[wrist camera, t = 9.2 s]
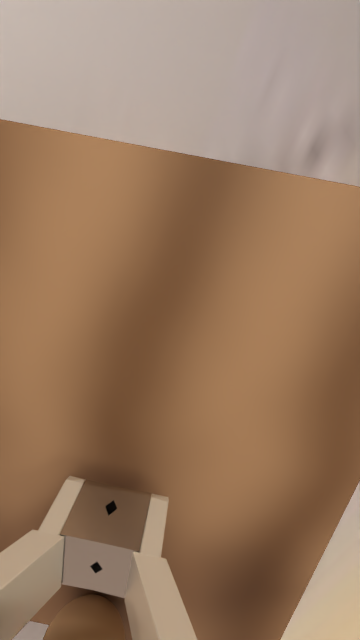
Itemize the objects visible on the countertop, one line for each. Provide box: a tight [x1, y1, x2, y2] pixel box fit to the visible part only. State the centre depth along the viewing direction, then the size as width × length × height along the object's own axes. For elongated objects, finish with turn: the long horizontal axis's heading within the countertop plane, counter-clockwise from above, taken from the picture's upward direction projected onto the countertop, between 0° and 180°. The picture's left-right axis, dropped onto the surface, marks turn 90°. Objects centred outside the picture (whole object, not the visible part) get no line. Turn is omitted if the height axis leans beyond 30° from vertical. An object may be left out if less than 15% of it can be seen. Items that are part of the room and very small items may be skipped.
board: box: [0, 119, 360, 640], centre depth 11 cm, size 24×20×4 cm
